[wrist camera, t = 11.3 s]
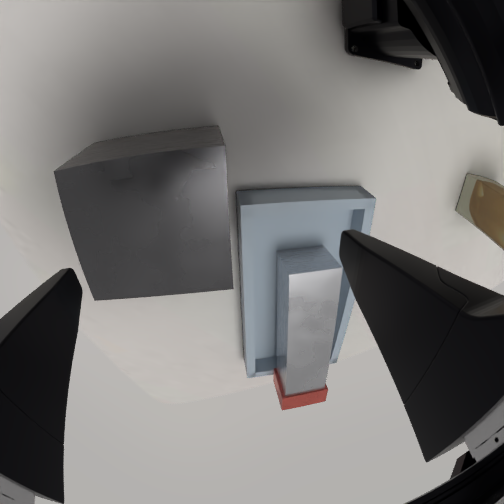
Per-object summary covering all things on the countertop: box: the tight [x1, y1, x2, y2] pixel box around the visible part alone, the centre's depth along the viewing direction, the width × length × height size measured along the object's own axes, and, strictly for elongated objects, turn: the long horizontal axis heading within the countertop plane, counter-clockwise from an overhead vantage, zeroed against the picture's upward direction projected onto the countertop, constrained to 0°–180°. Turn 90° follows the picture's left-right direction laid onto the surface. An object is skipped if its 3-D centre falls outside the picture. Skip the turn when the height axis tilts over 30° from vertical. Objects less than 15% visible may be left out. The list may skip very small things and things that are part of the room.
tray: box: [236, 186, 376, 378], centre depth 25 cm, size 10×19×2 cm, turn 1°
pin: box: [274, 245, 343, 410], centre depth 24 cm, size 4×15×4 cm, turn 1°
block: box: [54, 126, 233, 300], centre depth 17 cm, size 8×8×6 cm
